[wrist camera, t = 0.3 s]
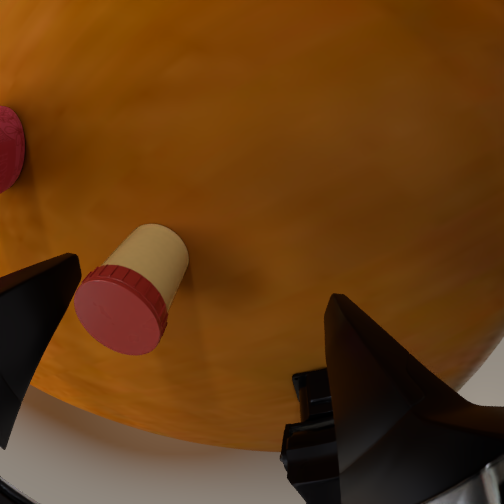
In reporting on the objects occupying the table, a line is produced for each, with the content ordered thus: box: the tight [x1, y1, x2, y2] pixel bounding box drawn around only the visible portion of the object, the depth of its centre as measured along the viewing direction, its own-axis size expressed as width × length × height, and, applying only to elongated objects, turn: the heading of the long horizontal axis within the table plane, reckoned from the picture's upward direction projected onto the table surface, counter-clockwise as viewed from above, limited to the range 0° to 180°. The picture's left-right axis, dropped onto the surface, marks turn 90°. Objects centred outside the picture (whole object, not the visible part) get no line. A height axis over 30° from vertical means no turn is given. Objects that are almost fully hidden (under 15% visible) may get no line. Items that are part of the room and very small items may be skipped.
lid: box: [74, 264, 168, 355], centre depth 18 cm, size 7×7×2 cm
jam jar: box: [100, 224, 189, 313], centre depth 21 cm, size 6×6×9 cm
